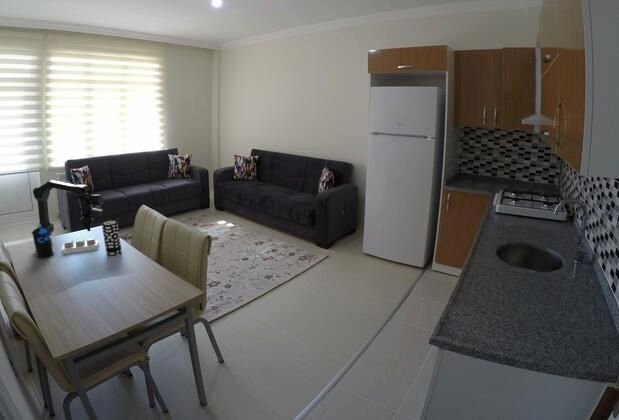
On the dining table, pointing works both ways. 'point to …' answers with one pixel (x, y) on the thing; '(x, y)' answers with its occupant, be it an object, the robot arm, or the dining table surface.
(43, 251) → the aerosol can
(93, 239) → the key far
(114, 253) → the spotted tube
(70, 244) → the key near
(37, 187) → the robot arm
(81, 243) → the key middle
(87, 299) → the dining table surface
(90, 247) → the keypad
